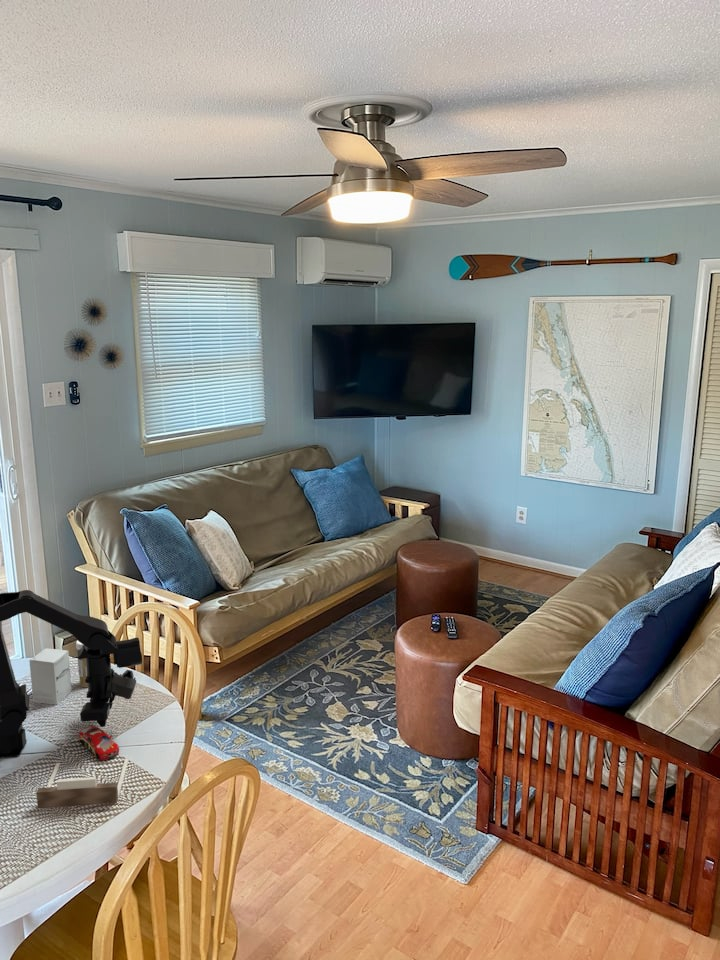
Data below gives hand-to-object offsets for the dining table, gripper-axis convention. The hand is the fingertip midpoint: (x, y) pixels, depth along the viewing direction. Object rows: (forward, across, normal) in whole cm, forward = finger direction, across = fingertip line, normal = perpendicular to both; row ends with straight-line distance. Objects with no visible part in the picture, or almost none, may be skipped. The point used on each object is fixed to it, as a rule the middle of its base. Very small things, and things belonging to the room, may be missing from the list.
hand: (103, 726), depth 184 cm
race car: (+2, -7, 0) cm, 7 cm away
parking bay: (+1, -20, 0) cm, 20 cm away
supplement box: (+2, +18, +17) cm, 25 cm away
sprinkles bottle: (+2, +24, +9) cm, 26 cm away
